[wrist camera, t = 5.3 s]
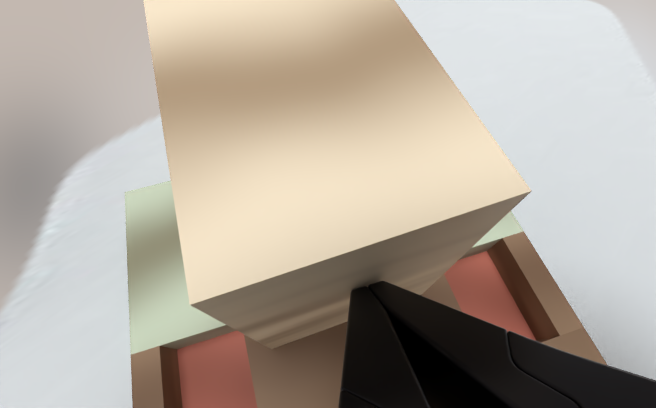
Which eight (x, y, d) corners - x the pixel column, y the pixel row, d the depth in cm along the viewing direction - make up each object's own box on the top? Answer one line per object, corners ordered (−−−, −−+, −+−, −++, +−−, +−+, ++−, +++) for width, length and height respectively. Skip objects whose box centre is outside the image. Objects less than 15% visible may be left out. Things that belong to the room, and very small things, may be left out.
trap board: (701, 591, 11) (775, 632, 9) (190, 854, 9) (153, 977, 7) (437, 135, 19) (448, 110, 17) (146, 211, 17) (124, 192, 15)
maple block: (422, 293, 13) (531, 190, 6) (271, 349, 12) (189, 304, 5) (349, 137, 17) (362, -44, 10) (227, 172, 16) (143, 0, 9)
